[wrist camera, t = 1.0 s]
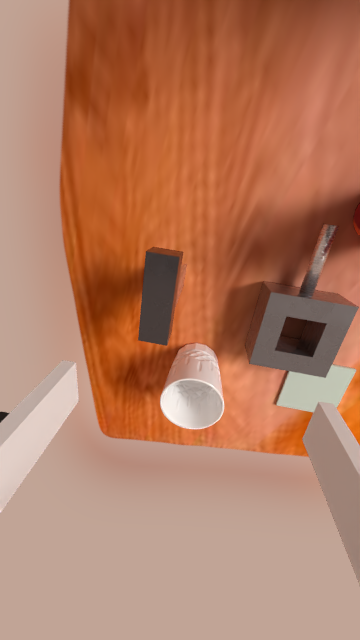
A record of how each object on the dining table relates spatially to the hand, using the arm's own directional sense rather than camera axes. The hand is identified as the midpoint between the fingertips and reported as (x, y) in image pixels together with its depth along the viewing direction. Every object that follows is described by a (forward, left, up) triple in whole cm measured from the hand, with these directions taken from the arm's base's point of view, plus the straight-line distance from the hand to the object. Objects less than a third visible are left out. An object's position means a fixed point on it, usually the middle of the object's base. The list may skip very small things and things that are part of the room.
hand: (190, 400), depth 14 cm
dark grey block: (-1, -4, -23) cm, 24 cm away
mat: (+13, +20, -23) cm, 33 cm away
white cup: (+12, +1, -24) cm, 27 cm away
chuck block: (-1, +13, -23) cm, 27 cm away
